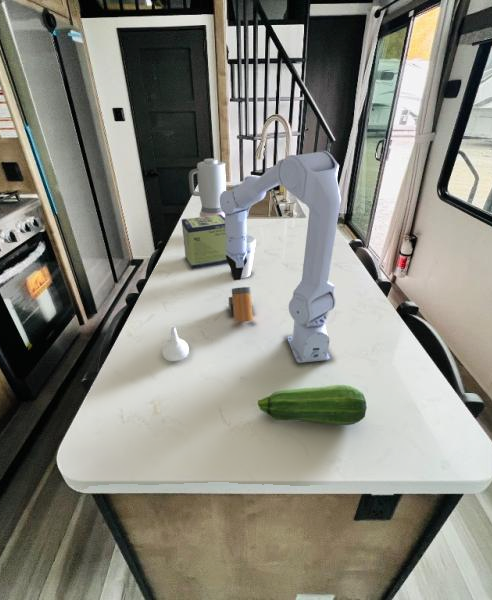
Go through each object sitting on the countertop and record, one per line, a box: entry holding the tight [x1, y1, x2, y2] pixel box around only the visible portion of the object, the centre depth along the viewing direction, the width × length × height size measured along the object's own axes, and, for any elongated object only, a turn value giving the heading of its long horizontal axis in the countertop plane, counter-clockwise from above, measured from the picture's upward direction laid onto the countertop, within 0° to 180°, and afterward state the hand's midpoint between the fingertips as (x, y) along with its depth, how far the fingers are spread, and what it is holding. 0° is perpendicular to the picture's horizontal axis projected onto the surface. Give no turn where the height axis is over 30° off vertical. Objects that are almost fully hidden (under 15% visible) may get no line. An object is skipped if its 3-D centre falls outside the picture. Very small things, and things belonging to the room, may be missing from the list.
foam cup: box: [241, 233, 257, 279], centre depth 109 cm, size 10×9×13 cm
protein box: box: [181, 214, 228, 270], centre depth 118 cm, size 10×16×16 cm
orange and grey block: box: [231, 286, 254, 323], centre depth 86 cm, size 9×5×10 cm, turn 9°
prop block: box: [228, 296, 253, 317], centre depth 91 cm, size 4×6×4 cm, turn 98°
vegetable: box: [257, 384, 368, 426], centre depth 60 cm, size 7×7×20 cm
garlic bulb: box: [161, 325, 190, 362], centre depth 75 cm, size 6×6×8 cm
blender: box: [188, 158, 227, 218], centre depth 133 cm, size 16×12×32 cm
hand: (236, 279), depth 94 cm, fingers closed
